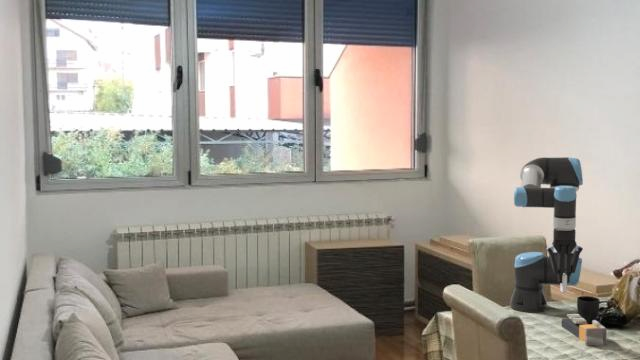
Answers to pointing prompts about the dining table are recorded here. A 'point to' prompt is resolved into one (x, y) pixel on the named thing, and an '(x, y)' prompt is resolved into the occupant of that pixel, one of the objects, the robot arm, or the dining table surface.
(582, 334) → the grey and orange bar
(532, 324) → the dining table surface
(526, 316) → the dining table surface
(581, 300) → the mug
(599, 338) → the rail
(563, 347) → the dining table surface
